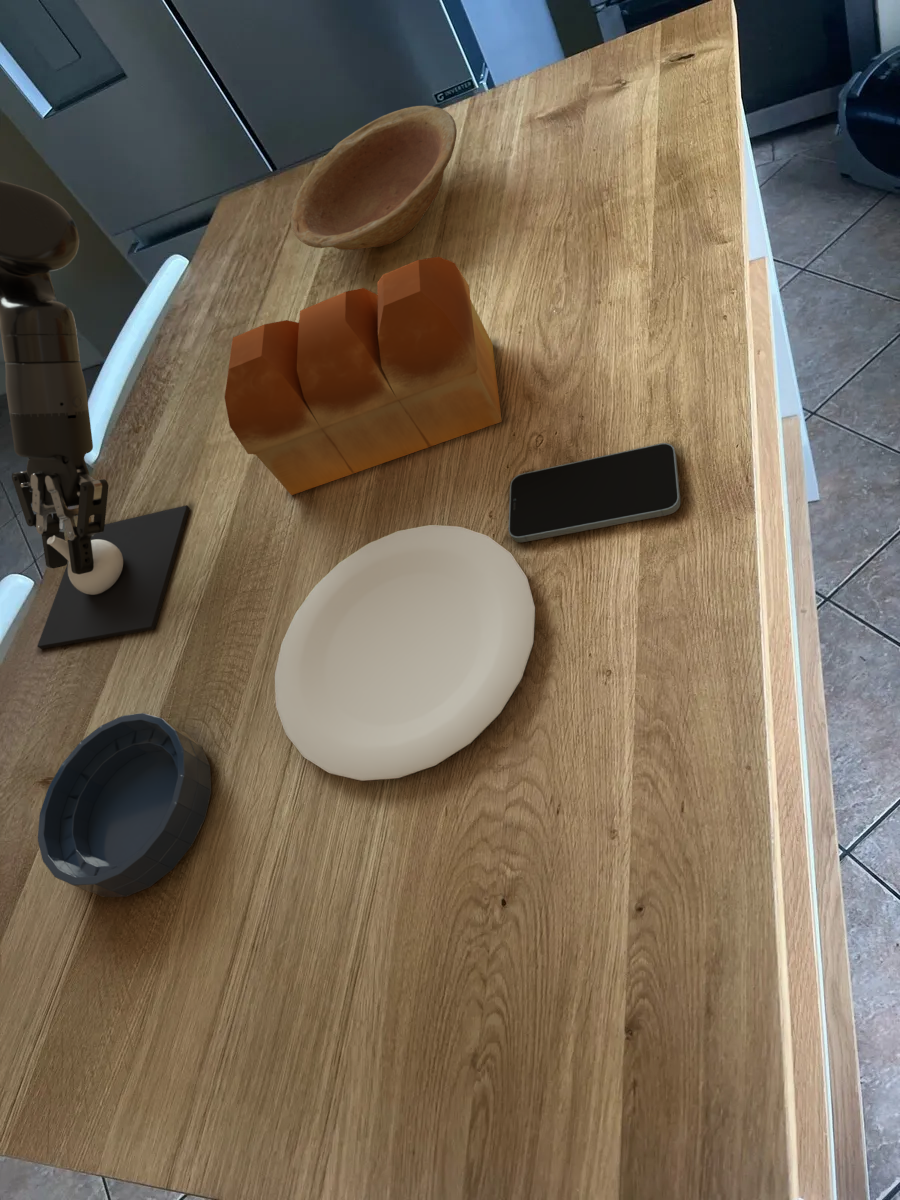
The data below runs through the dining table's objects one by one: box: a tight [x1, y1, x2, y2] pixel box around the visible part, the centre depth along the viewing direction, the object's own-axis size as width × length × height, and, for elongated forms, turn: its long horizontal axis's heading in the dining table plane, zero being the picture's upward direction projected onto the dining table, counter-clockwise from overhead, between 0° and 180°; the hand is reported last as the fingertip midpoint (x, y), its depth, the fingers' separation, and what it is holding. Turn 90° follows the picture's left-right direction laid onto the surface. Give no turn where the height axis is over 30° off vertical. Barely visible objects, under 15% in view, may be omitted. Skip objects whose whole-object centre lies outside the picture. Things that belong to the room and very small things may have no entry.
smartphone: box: [508, 442, 681, 543], centre depth 79 cm, size 7×1×15 cm
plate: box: [274, 524, 537, 782], centre depth 79 cm, size 25×25×2 cm
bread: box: [224, 256, 503, 496], centre depth 91 cm, size 25×12×15 cm, turn 93°
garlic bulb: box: [47, 535, 123, 595], centre depth 98 cm, size 6×6×8 cm
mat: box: [37, 505, 190, 650], centre depth 101 cm, size 16×16×1 cm
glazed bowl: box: [37, 712, 212, 898], centre depth 80 cm, size 15×15×4 cm
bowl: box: [290, 105, 458, 251], centre depth 114 cm, size 24×24×8 cm
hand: (70, 568), depth 97 cm, fingers closed on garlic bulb, 4 cm apart
